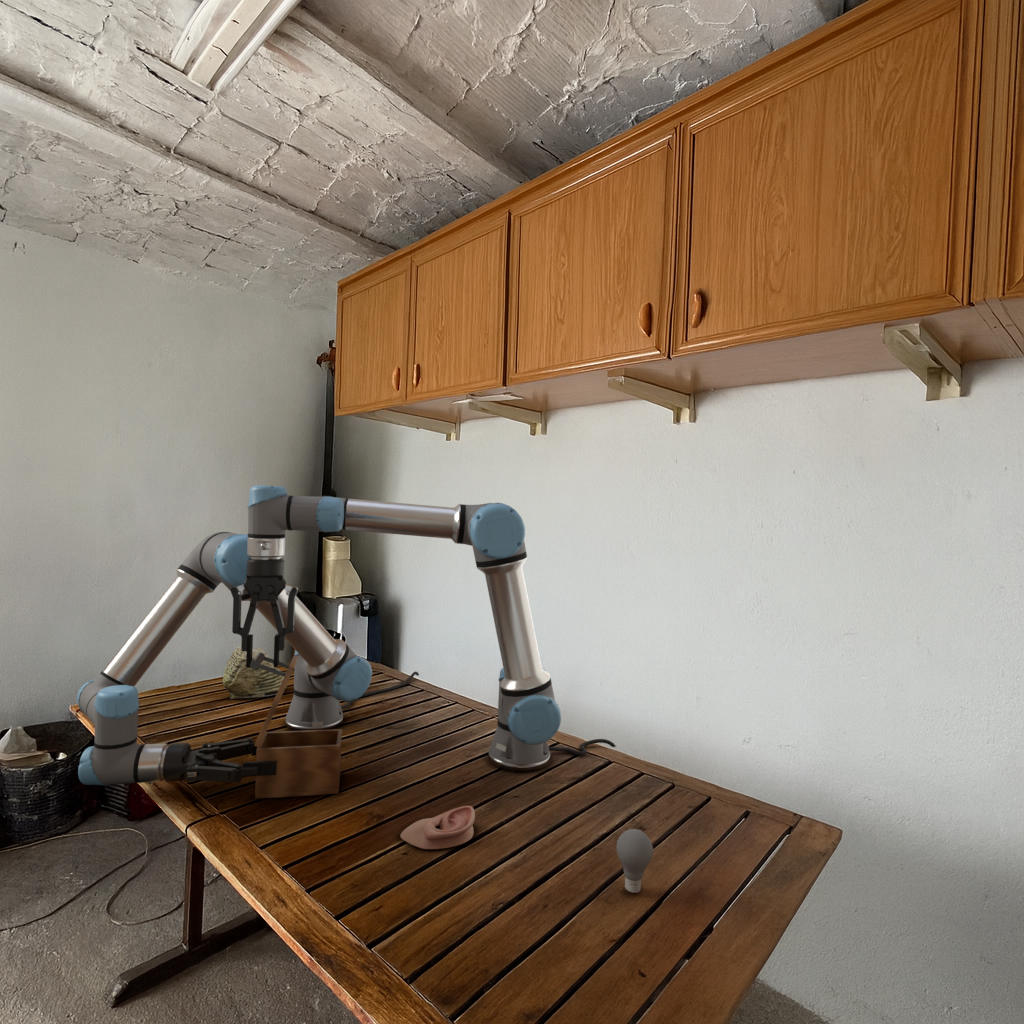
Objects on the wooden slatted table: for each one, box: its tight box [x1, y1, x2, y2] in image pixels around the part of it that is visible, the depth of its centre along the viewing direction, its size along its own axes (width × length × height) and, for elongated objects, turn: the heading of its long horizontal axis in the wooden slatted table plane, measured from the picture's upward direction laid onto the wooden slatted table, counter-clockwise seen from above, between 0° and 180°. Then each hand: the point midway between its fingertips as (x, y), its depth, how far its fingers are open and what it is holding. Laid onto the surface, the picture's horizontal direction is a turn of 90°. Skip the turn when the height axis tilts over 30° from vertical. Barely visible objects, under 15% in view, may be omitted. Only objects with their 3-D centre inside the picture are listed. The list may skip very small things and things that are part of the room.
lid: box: [250, 652, 299, 747], centre depth 136 cm, size 18×10×8 cm
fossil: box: [222, 646, 288, 699], centre depth 198 cm, size 9×18×15 cm, turn 132°
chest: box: [254, 728, 343, 800], centre depth 138 cm, size 17×10×10 cm, turn 103°
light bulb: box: [615, 828, 654, 894], centre depth 106 cm, size 6×6×10 cm
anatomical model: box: [399, 805, 476, 850], centre depth 121 cm, size 13×4×12 cm
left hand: (279, 757), depth 137 cm, fingers closed on chest, 10 cm apart
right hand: (262, 665), depth 136 cm, fingers open, 5 cm apart
